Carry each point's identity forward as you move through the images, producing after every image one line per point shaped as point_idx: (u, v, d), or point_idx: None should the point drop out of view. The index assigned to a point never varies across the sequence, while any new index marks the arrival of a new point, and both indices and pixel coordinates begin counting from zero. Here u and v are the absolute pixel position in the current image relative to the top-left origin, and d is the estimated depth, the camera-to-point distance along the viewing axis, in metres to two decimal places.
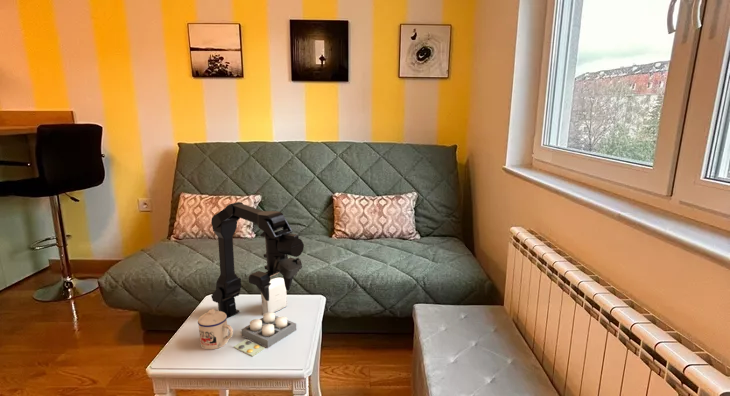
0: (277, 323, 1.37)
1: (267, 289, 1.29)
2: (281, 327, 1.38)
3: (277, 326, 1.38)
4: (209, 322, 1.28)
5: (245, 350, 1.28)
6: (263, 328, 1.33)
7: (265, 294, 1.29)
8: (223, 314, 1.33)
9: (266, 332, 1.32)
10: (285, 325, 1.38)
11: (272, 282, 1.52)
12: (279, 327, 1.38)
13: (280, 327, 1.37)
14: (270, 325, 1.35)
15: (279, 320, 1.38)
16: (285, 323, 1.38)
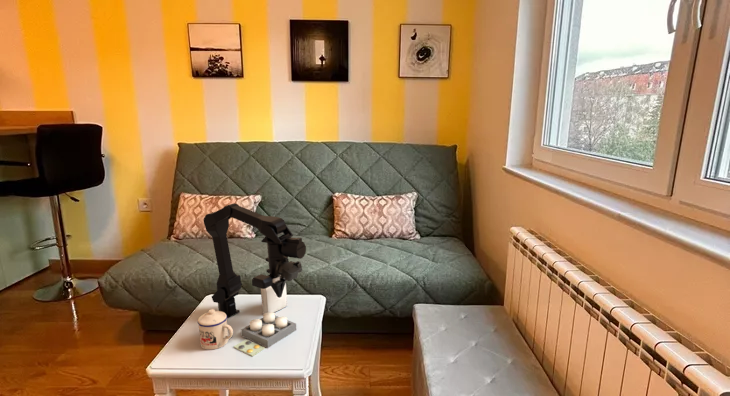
0: (277, 323, 1.37)
1: (279, 286, 1.39)
2: (281, 327, 1.38)
3: (277, 326, 1.38)
4: (209, 322, 1.28)
5: (245, 350, 1.28)
6: (263, 328, 1.33)
7: (277, 291, 1.40)
8: (223, 314, 1.33)
9: (266, 332, 1.32)
10: (285, 325, 1.38)
11: None
12: (279, 327, 1.38)
13: (280, 327, 1.37)
14: (270, 325, 1.35)
15: (279, 320, 1.38)
16: (285, 323, 1.38)
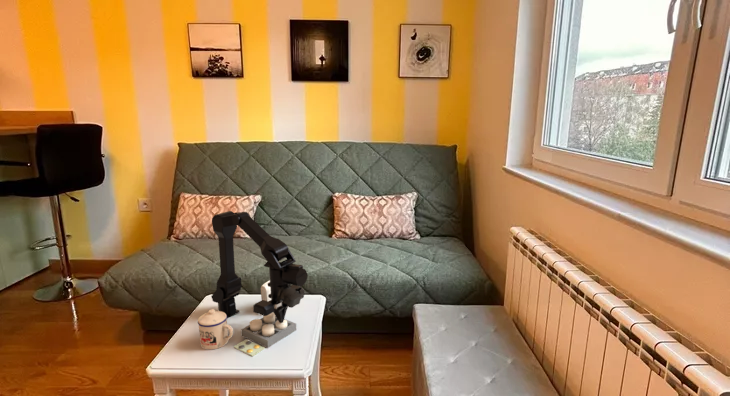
0: (277, 326, 1.38)
1: (281, 312, 1.37)
2: None
3: None
4: (209, 322, 1.28)
5: (245, 350, 1.28)
6: (263, 328, 1.33)
7: (279, 317, 1.38)
8: (223, 314, 1.33)
9: (266, 332, 1.32)
10: (285, 327, 1.38)
11: None
12: None
13: None
14: (270, 325, 1.35)
15: (279, 323, 1.39)
16: (285, 326, 1.38)
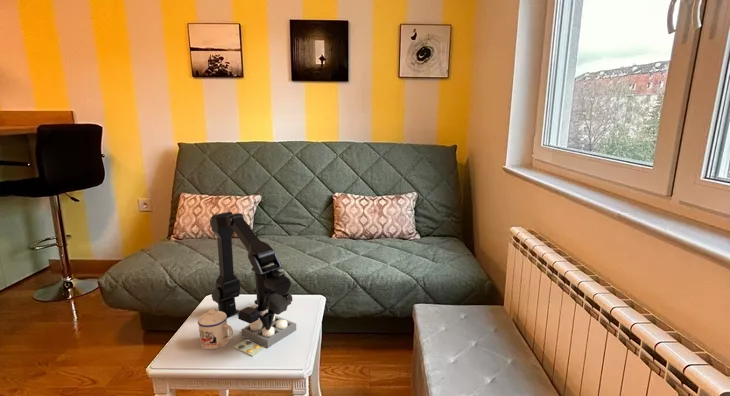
0: (277, 326, 1.38)
1: (267, 319, 1.32)
2: None
3: None
4: (209, 322, 1.28)
5: (245, 350, 1.28)
6: (263, 330, 1.34)
7: (265, 324, 1.33)
8: (223, 314, 1.33)
9: (266, 334, 1.33)
10: None
11: None
12: None
13: None
14: None
15: (279, 323, 1.39)
16: (285, 326, 1.38)
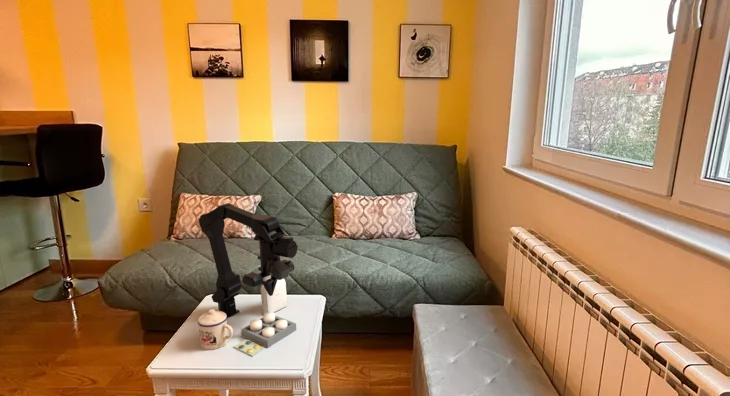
0: (277, 326, 1.38)
1: (270, 285, 1.39)
2: None
3: None
4: (209, 322, 1.28)
5: (245, 350, 1.28)
6: (263, 331, 1.34)
7: (268, 289, 1.40)
8: (223, 314, 1.33)
9: (266, 335, 1.33)
10: None
11: None
12: None
13: None
14: (270, 328, 1.35)
15: (279, 323, 1.39)
16: (285, 326, 1.38)
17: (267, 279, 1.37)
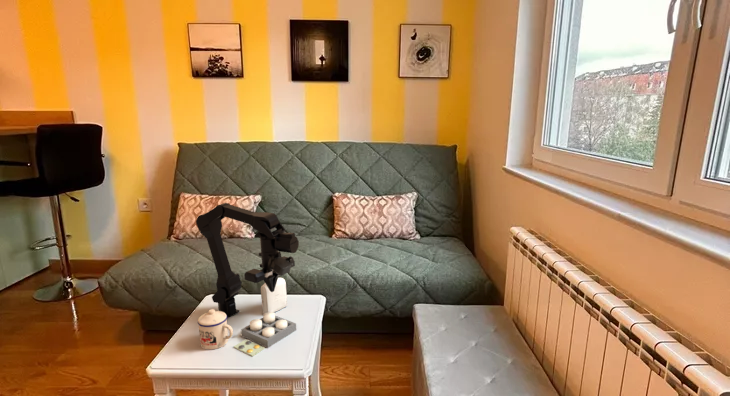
0: (277, 326, 1.38)
1: (271, 281, 1.41)
2: None
3: None
4: (209, 322, 1.28)
5: (245, 350, 1.28)
6: (263, 331, 1.34)
7: (270, 286, 1.42)
8: (223, 314, 1.33)
9: (266, 335, 1.33)
10: None
11: None
12: None
13: None
14: (270, 328, 1.35)
15: (279, 323, 1.39)
16: (285, 326, 1.38)
17: (269, 275, 1.39)
